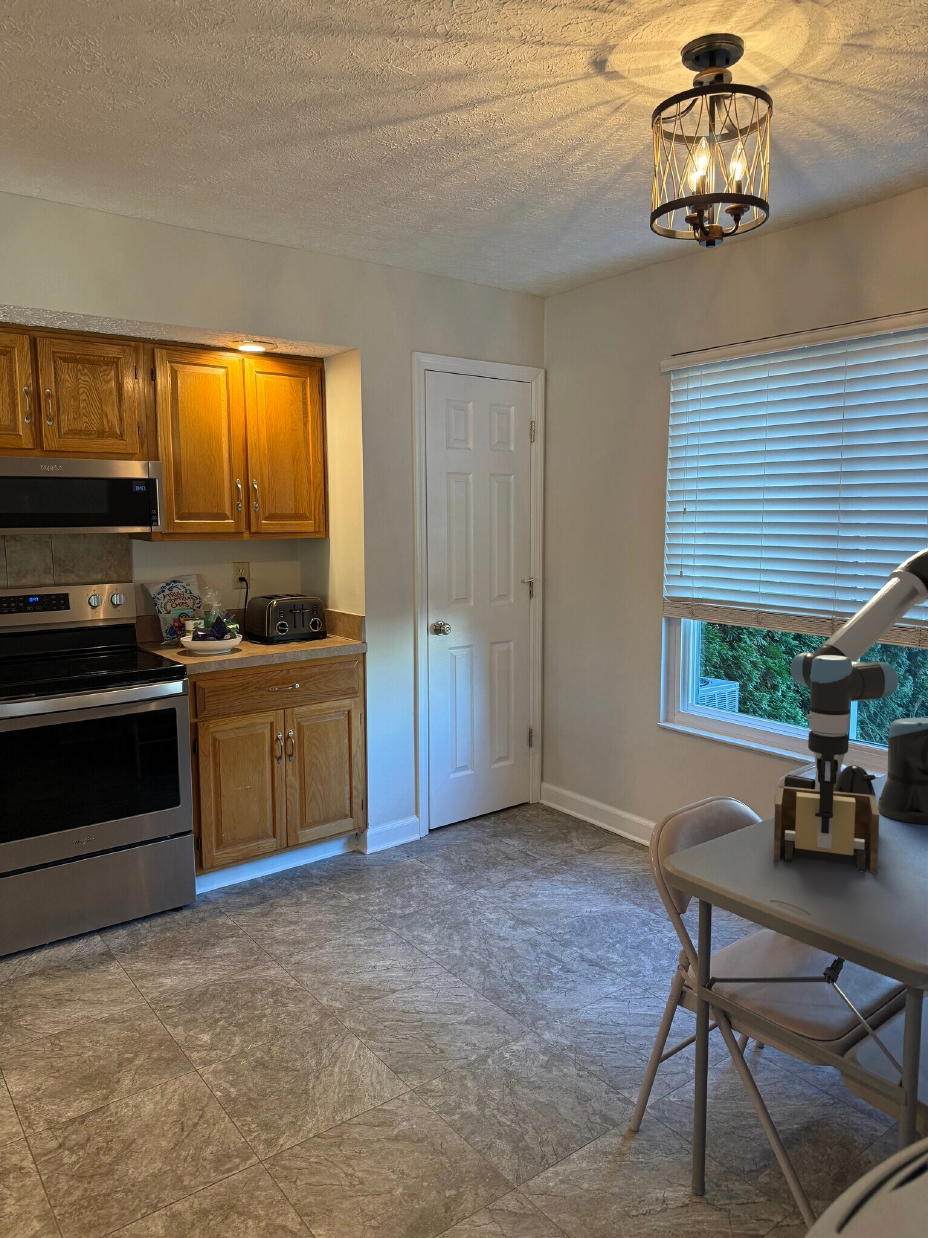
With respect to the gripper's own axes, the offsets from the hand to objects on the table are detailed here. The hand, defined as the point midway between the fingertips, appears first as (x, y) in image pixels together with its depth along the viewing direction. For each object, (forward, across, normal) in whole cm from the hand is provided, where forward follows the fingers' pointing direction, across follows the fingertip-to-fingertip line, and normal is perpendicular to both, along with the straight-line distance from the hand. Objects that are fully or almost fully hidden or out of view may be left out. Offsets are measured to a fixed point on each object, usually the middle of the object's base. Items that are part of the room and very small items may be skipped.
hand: (824, 844), depth 176 cm
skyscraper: (+4, -32, +1) cm, 32 cm away
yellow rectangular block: (+1, 0, 0) cm, 1 cm away
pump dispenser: (+4, -22, +6) cm, 23 cm away
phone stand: (+4, -20, -5) cm, 21 cm away
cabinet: (+4, -4, 0) cm, 6 cm away
